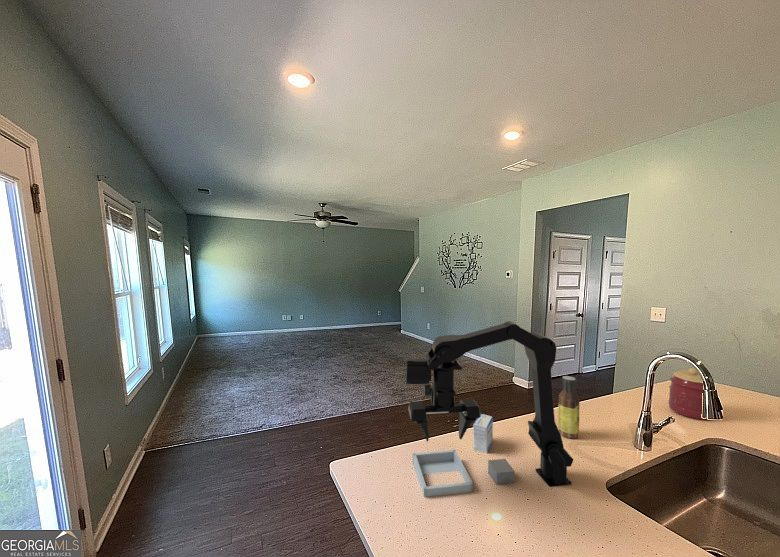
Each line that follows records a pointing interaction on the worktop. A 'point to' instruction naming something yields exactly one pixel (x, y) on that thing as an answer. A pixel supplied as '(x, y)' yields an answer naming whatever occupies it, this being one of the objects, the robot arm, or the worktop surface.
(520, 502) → the worktop surface
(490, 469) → the block
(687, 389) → the canister
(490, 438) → the medicine box
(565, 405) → the sauce bottle
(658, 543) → the worktop surface
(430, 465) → the tray
